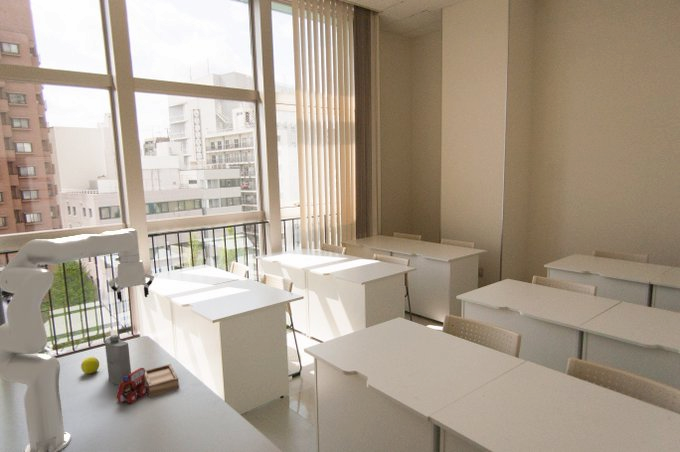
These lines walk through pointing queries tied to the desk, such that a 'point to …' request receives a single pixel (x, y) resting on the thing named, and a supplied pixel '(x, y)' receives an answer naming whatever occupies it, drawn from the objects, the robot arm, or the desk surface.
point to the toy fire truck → (132, 386)
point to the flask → (117, 359)
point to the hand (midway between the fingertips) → (133, 298)
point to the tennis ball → (90, 365)
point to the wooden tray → (161, 379)
